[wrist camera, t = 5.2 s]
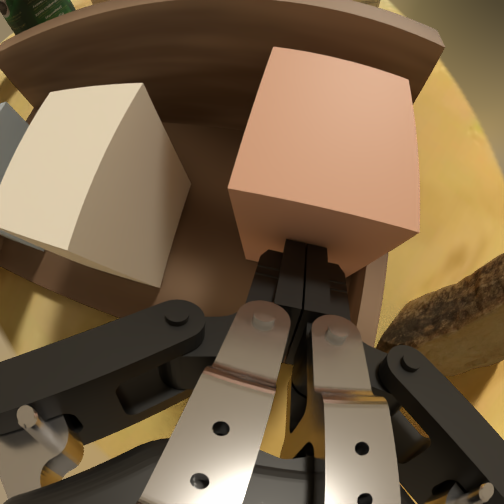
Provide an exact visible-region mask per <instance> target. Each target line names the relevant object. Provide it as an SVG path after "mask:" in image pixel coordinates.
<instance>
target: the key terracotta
mask: <svg viewBox="0 0 504 504" xmlns="http://www.w3.org/2000/svg"><path fill="white" fill-rule="evenodd" d="M228 192H229V196H230V200H231V204H232V208H233V211H234V215H235V219H236V223H237V227H238V231H239V235H240V239H241V242H242V246H243V250H244V254H245V258H246V259H247V260H252V261H256V262H259V258H260V256H261V255H262V254H263V253H264V252H266V251H267V250H268V249H269V250H274V251H279V252H283V249H284V245H285V240H286V239H288V240H293V241H297V242H302V243H306V245H307V244H311V245H316V246H320V247H325V248H327V254H328V262H330V263H334V264H338V265H339V266H340V268H341V269H342V270H343V272H344V273H345V278H346V277H348V276H350V275H351V274H353V273H355V272H356V271H358V270H360V269H361V268H363V267H365V266H367V265H368V264H370V263H372V262H373V261H375V260H376V259H378V258H380V257H381V256H383V255H385V254H386V253H388V252H389V251H391V250H393V249H394V248H396V247H397V246H399V245H401V244H402V243H404V242H405V241H407V240H408V239H410V238H412V237H413V236H415V235H416V234H418V233H419V231H420V180H419V160H418V147H417V136H416V126H415V118H414V111H413V104H412V97H411V91H410V85H409V80H408V79H405V78H403V77H400V76H397V75H394V74H391V73H388V72H385V71H382V70H379V69H376V68H372V67H369V66H366V65H362V64H359V63H355V62H351V61H347V60H343V59H339V58H335V57H330V56H326V55H321V54H316V53H311V52H306V51H300V50H294V49H287V48H280V47H273V49H272V52H271V54H270V57H269V60H268V63H267V66H266V69H265V72H264V75H263V77H262V80H261V83H260V86H259V89H258V92H257V95H256V98H255V101H254V104H253V107H252V110H251V114H250V117H249V120H248V123H247V126H246V129H245V132H244V135H243V139H242V142H241V145H240V148H239V152H238V155H237V158H236V161H235V165H234V168H233V171H232V175H231V178H230V182H229V185H228Z"/></svg>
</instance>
